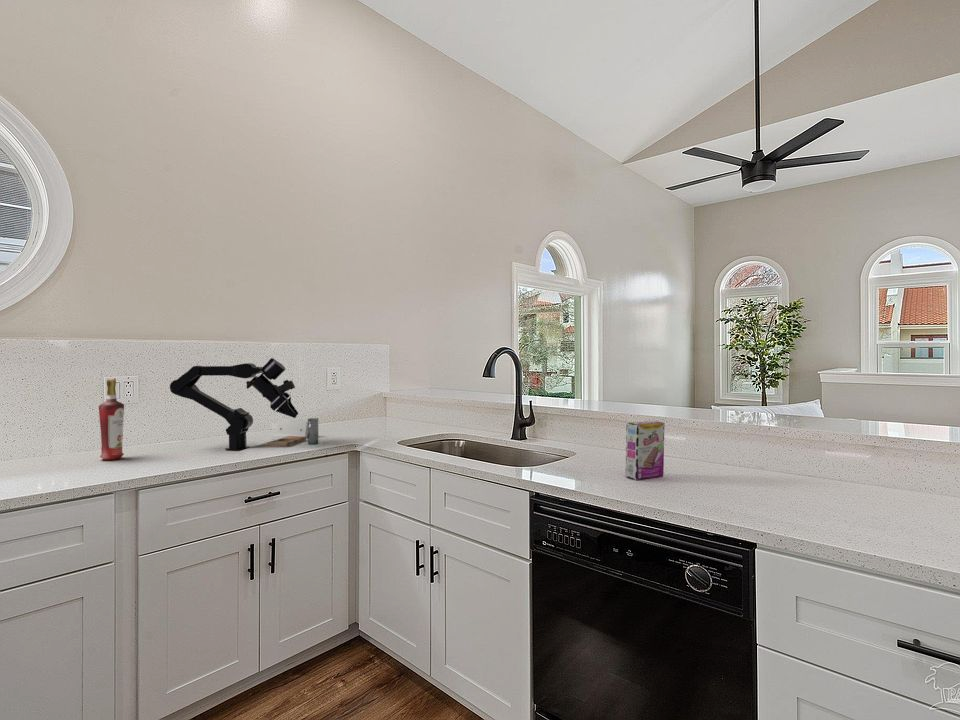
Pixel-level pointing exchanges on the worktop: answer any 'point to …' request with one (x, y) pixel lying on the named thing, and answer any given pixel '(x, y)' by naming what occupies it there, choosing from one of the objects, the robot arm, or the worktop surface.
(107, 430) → the liquor
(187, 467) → the worktop surface
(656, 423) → the candy bar box
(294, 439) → the brown slotted block
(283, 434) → the white game console
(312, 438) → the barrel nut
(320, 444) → the pale green square plate
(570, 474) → the worktop surface
